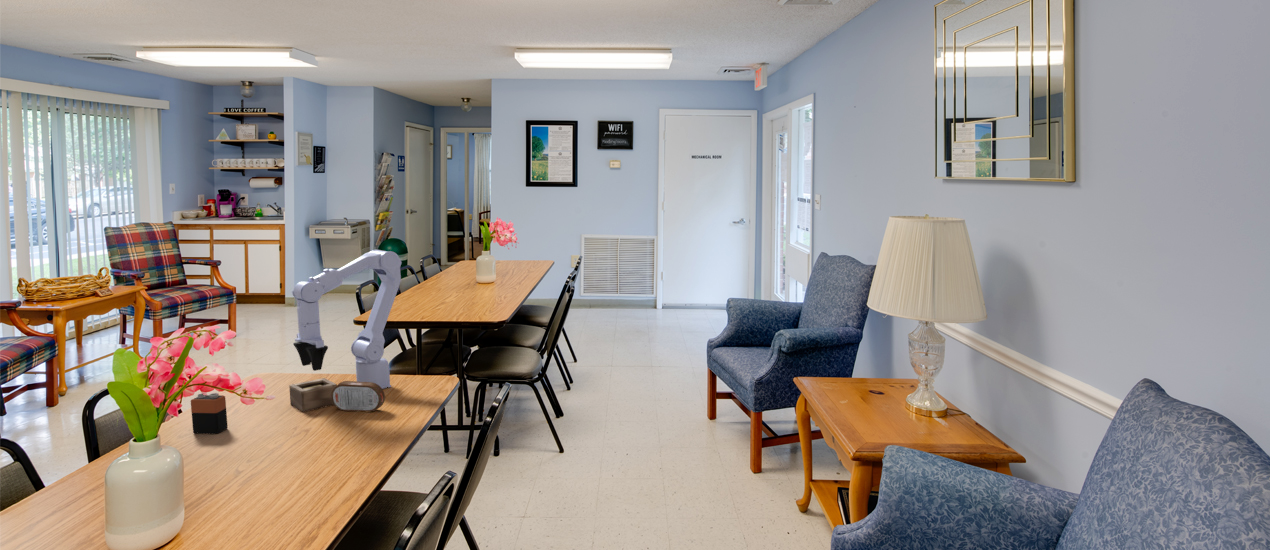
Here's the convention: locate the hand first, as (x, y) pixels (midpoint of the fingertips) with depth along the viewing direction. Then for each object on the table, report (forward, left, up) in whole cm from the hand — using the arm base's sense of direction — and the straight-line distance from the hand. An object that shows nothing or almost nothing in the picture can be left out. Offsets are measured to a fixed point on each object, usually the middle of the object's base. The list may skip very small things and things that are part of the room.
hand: (311, 367), depth 202 cm
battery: (+29, +6, -11) cm, 31 cm away
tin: (-6, +17, -11) cm, 21 cm away
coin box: (+1, +3, -10) cm, 11 cm away
